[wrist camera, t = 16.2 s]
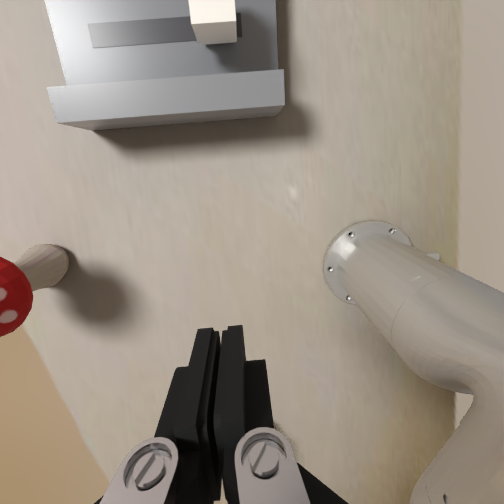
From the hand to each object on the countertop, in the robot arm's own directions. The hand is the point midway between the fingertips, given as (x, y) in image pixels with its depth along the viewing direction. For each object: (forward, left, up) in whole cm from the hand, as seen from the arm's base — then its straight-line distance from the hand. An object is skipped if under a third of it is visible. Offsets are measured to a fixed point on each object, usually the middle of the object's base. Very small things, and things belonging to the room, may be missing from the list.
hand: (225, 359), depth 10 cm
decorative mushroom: (+26, +4, -27) cm, 38 cm away
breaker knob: (0, -20, -24) cm, 31 cm away
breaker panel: (+5, -20, -27) cm, 34 cm away
